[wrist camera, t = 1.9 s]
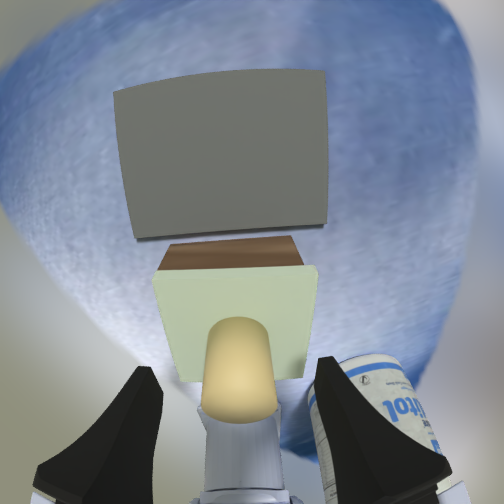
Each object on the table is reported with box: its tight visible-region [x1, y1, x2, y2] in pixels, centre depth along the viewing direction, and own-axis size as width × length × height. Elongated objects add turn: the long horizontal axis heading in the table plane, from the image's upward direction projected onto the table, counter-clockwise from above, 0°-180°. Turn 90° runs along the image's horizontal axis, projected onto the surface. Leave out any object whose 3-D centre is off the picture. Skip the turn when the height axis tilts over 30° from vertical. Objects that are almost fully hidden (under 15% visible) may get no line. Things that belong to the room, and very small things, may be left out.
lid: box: [152, 265, 319, 424], centre depth 12 cm, size 7×7×6 cm
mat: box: [113, 69, 328, 239], centre depth 13 cm, size 8×11×1 cm
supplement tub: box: [308, 354, 452, 504], centre depth 16 cm, size 10×10×15 cm
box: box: [158, 235, 304, 270], centre depth 16 cm, size 7×7×4 cm
